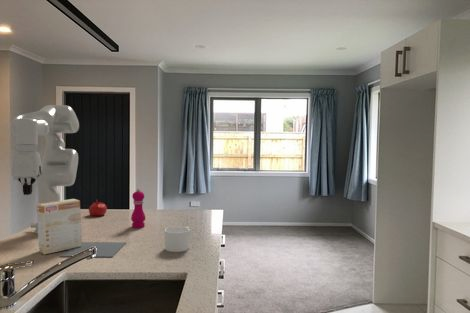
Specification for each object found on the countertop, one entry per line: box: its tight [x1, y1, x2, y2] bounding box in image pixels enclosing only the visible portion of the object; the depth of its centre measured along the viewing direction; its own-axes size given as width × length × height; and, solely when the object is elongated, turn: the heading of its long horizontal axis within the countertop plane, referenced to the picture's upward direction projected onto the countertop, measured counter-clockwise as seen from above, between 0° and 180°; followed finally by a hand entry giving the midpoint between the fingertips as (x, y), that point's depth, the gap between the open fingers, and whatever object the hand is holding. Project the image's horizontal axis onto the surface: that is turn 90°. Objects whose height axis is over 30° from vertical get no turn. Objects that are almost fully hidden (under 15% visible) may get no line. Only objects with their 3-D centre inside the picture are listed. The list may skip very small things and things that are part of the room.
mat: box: [59, 241, 127, 258], centre depth 152 cm, size 20×19×1 cm
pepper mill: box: [130, 187, 146, 229], centre depth 192 cm, size 7×7×20 cm
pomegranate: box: [88, 199, 108, 217], centre depth 217 cm, size 10×10×9 cm
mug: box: [164, 226, 191, 253], centre depth 156 cm, size 13×10×8 cm
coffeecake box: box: [36, 198, 83, 255], centre depth 151 cm, size 15×7×20 cm, turn 134°
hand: (27, 194), depth 150 cm, fingers closed
